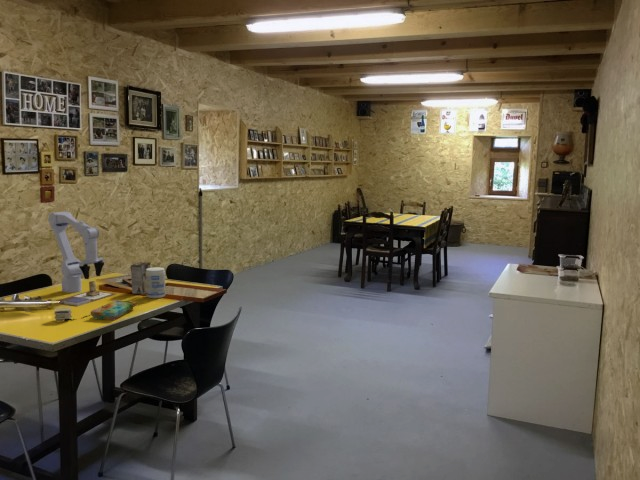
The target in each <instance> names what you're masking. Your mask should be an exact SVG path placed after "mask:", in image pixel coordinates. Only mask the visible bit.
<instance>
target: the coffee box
mask: <svg viewBox="0 0 640 480" xmlns="http://www.w3.org/2000/svg"><path fill="white" fill-rule="evenodd" d="M147 268H151V262H142V261H141V262H140V261H139V262H137V263H135V264H131V265H130V271H131V272H130V275H131V292H132V294H135V295H136V294H139V295H140V296H142V297H143V296H146V269H147Z"/></svg>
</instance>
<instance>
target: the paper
mask: <svg viewBox="0 0 640 480" xmlns="http://www.w3.org/2000/svg"><path fill="white" fill-rule="evenodd" d="M101 292H102V291H100V292H99V295H97V296H94V297H93V296H86V293H84V292H83V293H84V294H81V293H79V294H80V295H77V294H76V295H77V296H74V295H73V296H74V297H78V298H86V299H93V300H95V299H99V298H102V297H105V296H108V295H112V294H109V293H110V292H107V293H101Z"/></svg>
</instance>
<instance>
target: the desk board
mask: <svg viewBox="0 0 640 480" xmlns="http://www.w3.org/2000/svg"><path fill="white" fill-rule="evenodd" d="M98 291H99V290H98ZM86 292H87V291H85V292H81V293H77V294H74V295H70V296H68V297H64V298H59V299H57V300H55V301H60V302H59V303H55V304H56V305H57V304H58V305H63V306H68V307H70V306H71V307H77V308H78V307H80V306H83V305H87V304H90V303H93V302H96V301H100V300H103V299H106V298H109V297H112V296H116V295H117V293H114V292H105V291H99V292H101V293H109V294H112V295H108V296H105V297H102V298H99V299H95V300H93V299H90V300H91V302H89V303H86V304H82V305H79V306H75V305H68V304H64V301H66V300H70V299H73V298H78V297H74V296H77V295H80V294H84V293H86ZM84 299H86V298H84Z"/></svg>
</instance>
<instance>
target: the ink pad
mask: <svg viewBox="0 0 640 480" xmlns="http://www.w3.org/2000/svg"><path fill="white" fill-rule="evenodd" d="M89 302H90V303H92V302H91V300H90V299H84V298H73V299H70V300H66V301H64V304H68V305H67V306H69V305H75V306H74V307H76V306H77V307H80V306H79V305H81V306H83V305H82V304H84V305H87V304H90V303H89ZM86 303H87V304H86Z"/></svg>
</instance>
